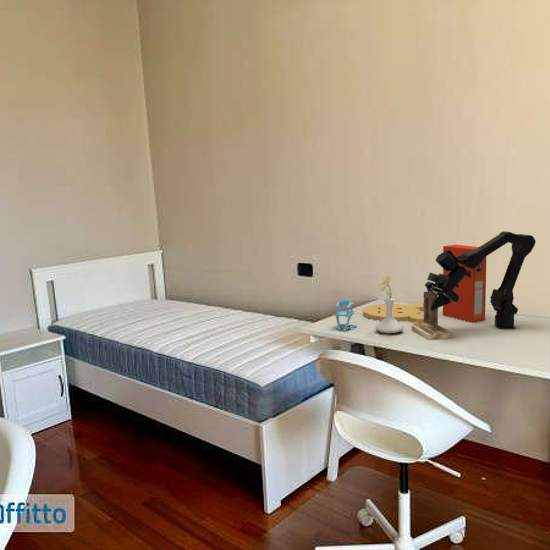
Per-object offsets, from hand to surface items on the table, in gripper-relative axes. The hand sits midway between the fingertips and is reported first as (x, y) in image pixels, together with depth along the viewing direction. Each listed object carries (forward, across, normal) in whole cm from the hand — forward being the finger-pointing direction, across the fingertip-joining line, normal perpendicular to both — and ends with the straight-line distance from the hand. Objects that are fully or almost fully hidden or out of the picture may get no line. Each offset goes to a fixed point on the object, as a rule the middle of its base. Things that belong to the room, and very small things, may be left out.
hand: (427, 307), depth 211 cm
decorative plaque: (+7, -34, +9) cm, 36 cm away
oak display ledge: (+7, 0, +9) cm, 11 cm away
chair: (+28, -19, -12) cm, 36 cm away
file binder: (-11, -19, +27) cm, 35 cm away
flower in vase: (+17, -8, -1) cm, 19 cm away
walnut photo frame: (+4, 0, +6) cm, 7 cm away
